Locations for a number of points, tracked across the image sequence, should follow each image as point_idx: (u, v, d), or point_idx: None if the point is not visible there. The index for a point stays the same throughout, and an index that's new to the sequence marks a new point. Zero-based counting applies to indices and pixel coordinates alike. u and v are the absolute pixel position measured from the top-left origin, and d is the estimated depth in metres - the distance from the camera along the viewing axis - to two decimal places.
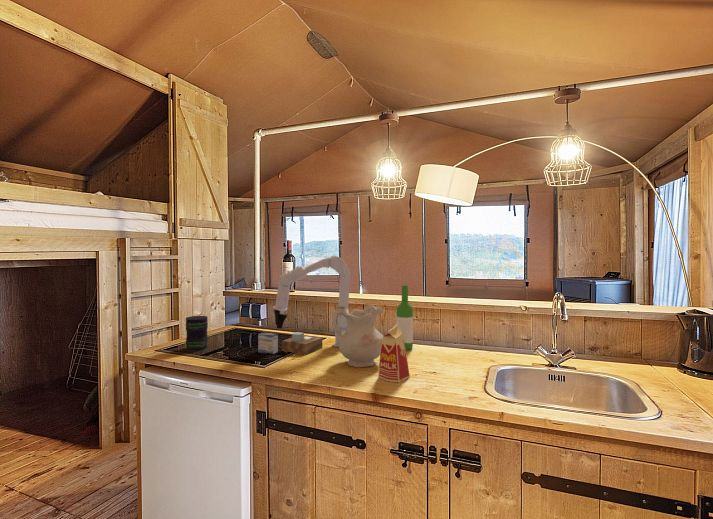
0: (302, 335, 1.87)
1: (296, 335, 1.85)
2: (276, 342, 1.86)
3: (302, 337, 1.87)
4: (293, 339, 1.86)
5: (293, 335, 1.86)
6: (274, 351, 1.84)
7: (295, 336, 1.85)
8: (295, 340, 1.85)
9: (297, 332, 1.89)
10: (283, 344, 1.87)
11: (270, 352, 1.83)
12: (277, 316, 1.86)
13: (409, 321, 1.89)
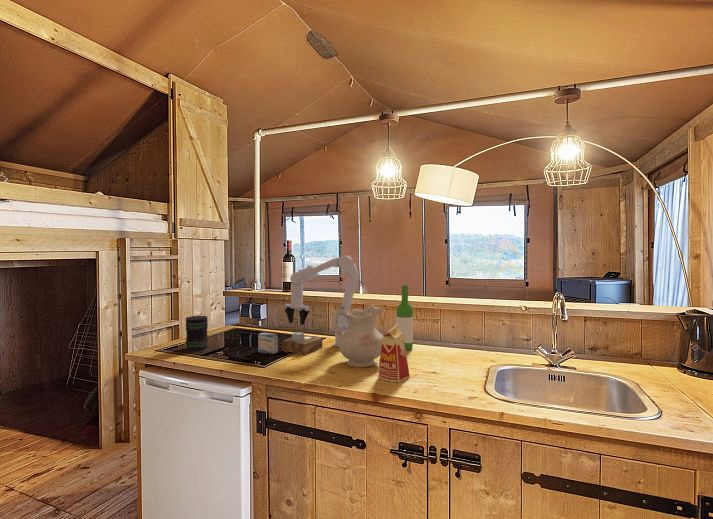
0: (302, 335, 1.87)
1: (296, 335, 1.85)
2: (276, 342, 1.86)
3: (302, 337, 1.87)
4: (293, 339, 1.86)
5: (293, 335, 1.86)
6: (274, 351, 1.84)
7: (295, 336, 1.85)
8: (295, 340, 1.85)
9: (297, 332, 1.89)
10: (283, 344, 1.87)
11: (270, 352, 1.83)
12: (303, 313, 1.95)
13: (409, 321, 1.89)
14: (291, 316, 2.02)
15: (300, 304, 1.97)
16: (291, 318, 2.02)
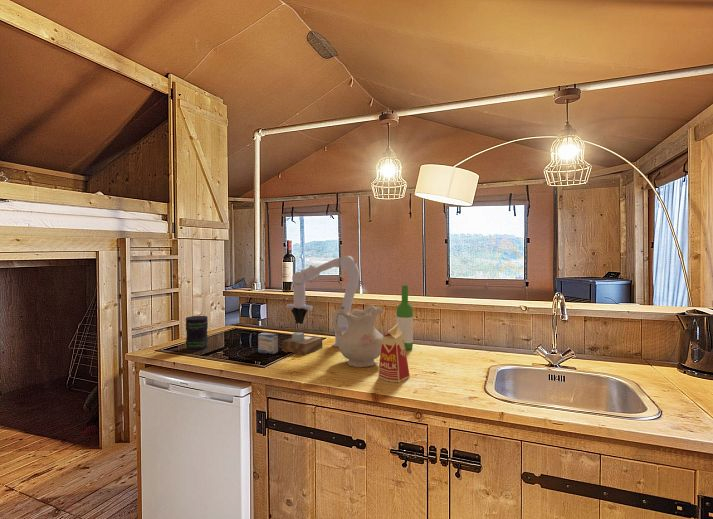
0: (302, 335, 1.87)
1: (296, 335, 1.85)
2: (276, 342, 1.86)
3: (302, 337, 1.87)
4: (293, 339, 1.86)
5: (293, 335, 1.86)
6: (274, 351, 1.84)
7: (295, 336, 1.85)
8: (295, 340, 1.85)
9: (297, 332, 1.89)
10: (283, 344, 1.87)
11: (270, 352, 1.83)
12: (302, 312, 1.97)
13: (409, 321, 1.89)
14: (298, 316, 2.01)
15: (303, 304, 1.98)
16: (298, 318, 2.01)
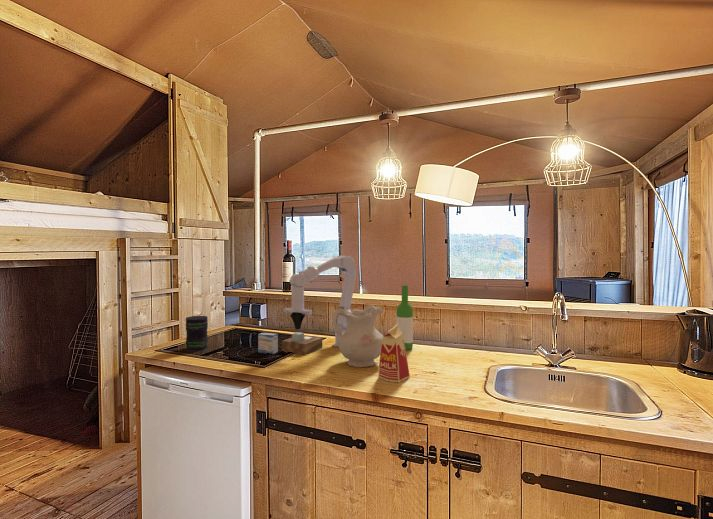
0: (302, 335, 1.87)
1: (296, 335, 1.85)
2: (276, 342, 1.86)
3: (302, 337, 1.87)
4: (293, 339, 1.86)
5: (293, 335, 1.86)
6: (274, 351, 1.84)
7: (295, 336, 1.85)
8: (295, 340, 1.85)
9: (297, 332, 1.89)
10: (283, 344, 1.87)
11: (270, 352, 1.83)
12: (299, 317, 1.84)
13: (409, 321, 1.89)
14: None
15: (302, 308, 1.85)
16: None
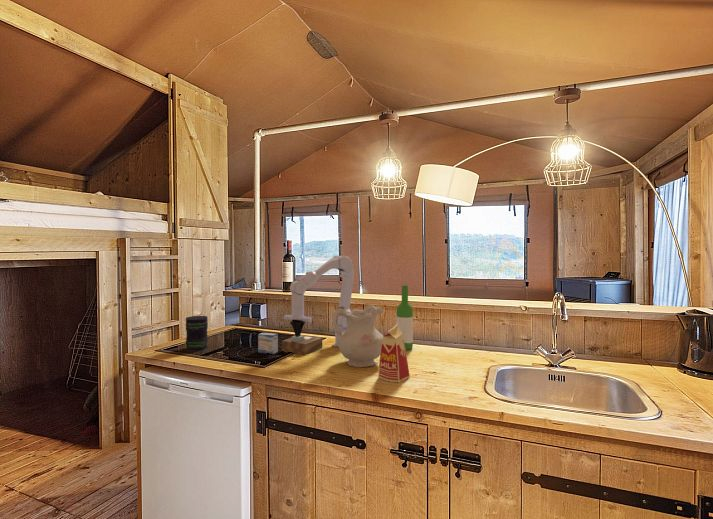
0: (302, 338, 1.87)
1: (296, 338, 1.85)
2: (276, 342, 1.86)
3: (302, 340, 1.87)
4: None
5: (293, 338, 1.86)
6: (274, 351, 1.84)
7: (295, 339, 1.85)
8: None
9: None
10: (283, 344, 1.87)
11: (270, 352, 1.83)
12: (299, 325, 1.84)
13: (409, 321, 1.89)
14: None
15: (302, 315, 1.85)
16: None
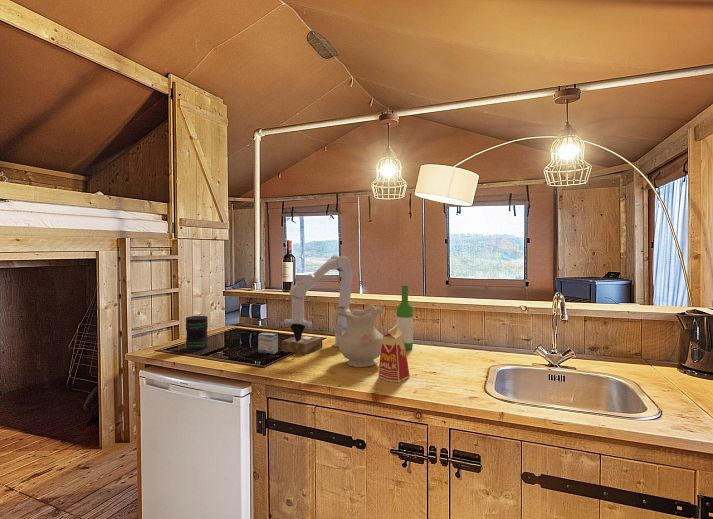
0: None
1: None
2: (276, 342, 1.86)
3: None
4: None
5: None
6: (274, 351, 1.84)
7: None
8: None
9: None
10: (283, 344, 1.87)
11: (270, 352, 1.83)
12: (299, 329, 1.84)
13: (409, 321, 1.89)
14: None
15: (302, 319, 1.85)
16: None
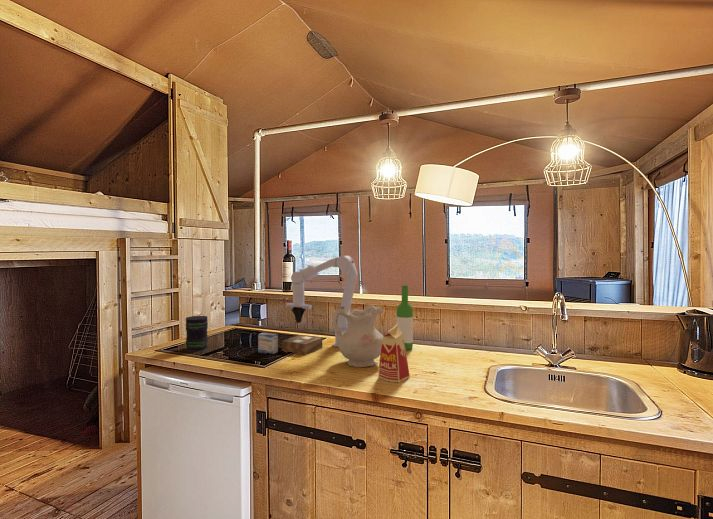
0: None
1: None
2: (276, 342, 1.86)
3: None
4: None
5: None
6: (274, 351, 1.84)
7: None
8: None
9: None
10: (283, 344, 1.87)
11: (270, 352, 1.83)
12: (300, 311, 2.00)
13: (409, 321, 1.89)
14: None
15: (302, 303, 2.01)
16: None
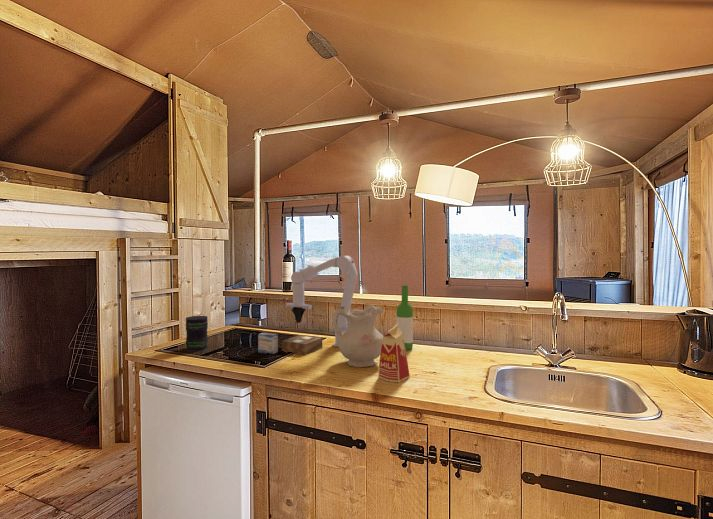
0: None
1: None
2: (276, 342, 1.86)
3: None
4: None
5: None
6: (274, 351, 1.84)
7: None
8: None
9: None
10: (283, 344, 1.87)
11: (270, 352, 1.83)
12: (300, 311, 2.00)
13: (409, 321, 1.89)
14: None
15: (302, 303, 2.01)
16: None
